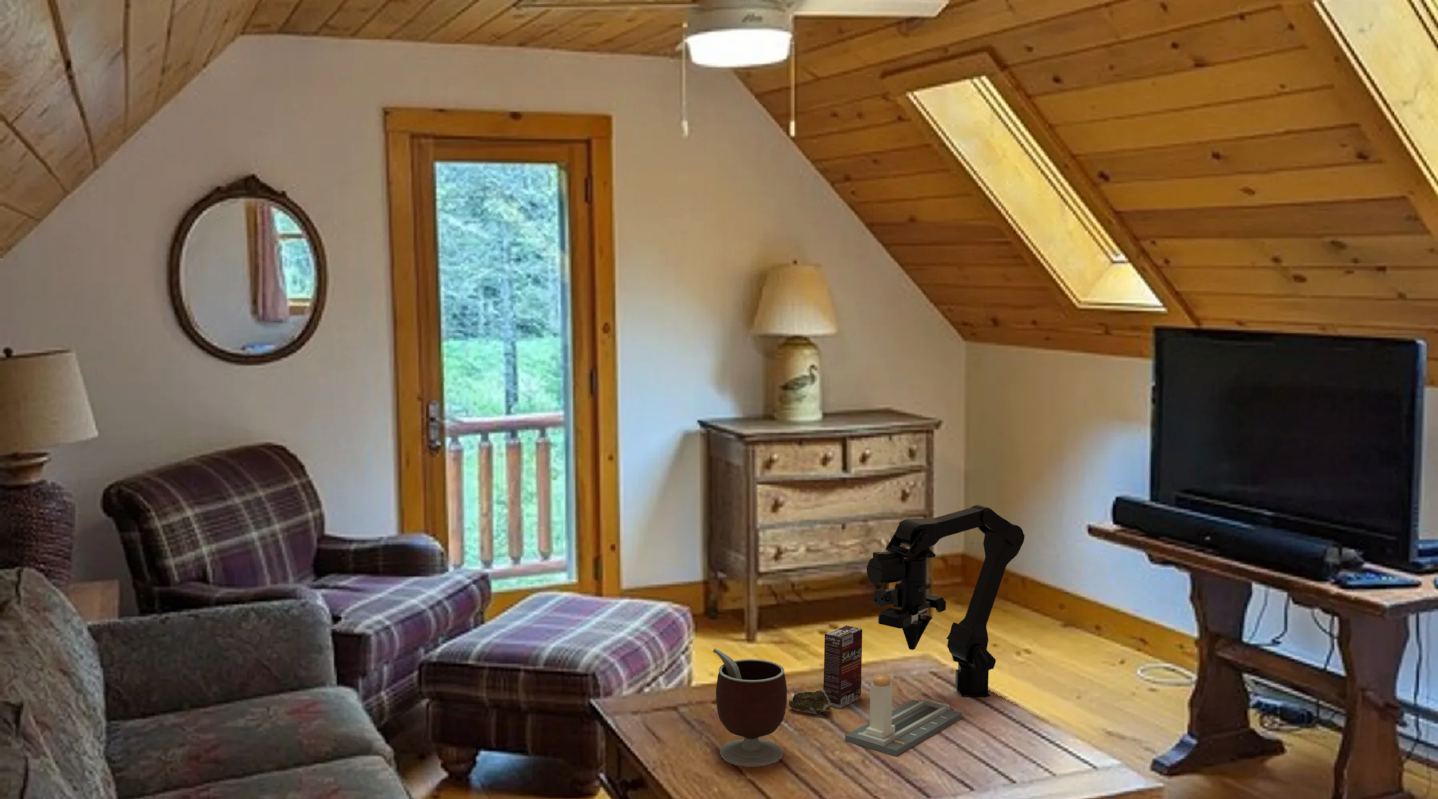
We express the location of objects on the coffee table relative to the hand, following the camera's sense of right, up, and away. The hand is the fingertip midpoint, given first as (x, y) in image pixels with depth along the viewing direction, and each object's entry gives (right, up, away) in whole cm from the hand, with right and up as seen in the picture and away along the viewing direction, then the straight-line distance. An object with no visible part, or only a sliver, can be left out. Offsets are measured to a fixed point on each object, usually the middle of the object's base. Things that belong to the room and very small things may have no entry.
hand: (911, 649), depth 269 cm
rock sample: (-22, -13, -1) cm, 26 cm away
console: (-3, -14, -12) cm, 19 cm away
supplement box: (-15, -12, +4) cm, 20 cm away
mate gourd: (-36, -16, -24) cm, 46 cm away
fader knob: (-9, -14, -19) cm, 25 cm away
